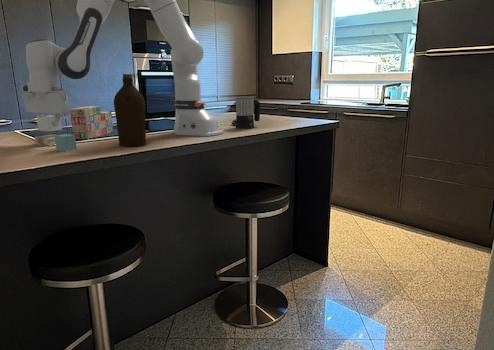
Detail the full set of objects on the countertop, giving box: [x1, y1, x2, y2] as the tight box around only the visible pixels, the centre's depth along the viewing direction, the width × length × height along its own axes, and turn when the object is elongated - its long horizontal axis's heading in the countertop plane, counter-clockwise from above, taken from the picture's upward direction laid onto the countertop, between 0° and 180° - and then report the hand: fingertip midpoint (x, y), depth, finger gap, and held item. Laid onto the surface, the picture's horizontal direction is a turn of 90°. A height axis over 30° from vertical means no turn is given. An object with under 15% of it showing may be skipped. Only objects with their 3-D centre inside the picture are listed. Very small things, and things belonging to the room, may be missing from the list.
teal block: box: [54, 133, 77, 152], centre depth 125 cm, size 4×4×5 cm
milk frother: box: [231, 96, 261, 130], centre depth 182 cm, size 14×16×15 cm
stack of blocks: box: [69, 105, 115, 140], centre depth 154 cm, size 21×6×12 cm, turn 172°
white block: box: [36, 114, 63, 132], centre depth 135 cm, size 6×6×5 cm
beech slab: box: [34, 133, 58, 147], centre depth 137 cm, size 8×8×3 cm
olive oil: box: [113, 73, 147, 148], centre depth 131 cm, size 11×11×25 cm
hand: (49, 125), depth 135 cm, fingers closed on white block, 5 cm apart
